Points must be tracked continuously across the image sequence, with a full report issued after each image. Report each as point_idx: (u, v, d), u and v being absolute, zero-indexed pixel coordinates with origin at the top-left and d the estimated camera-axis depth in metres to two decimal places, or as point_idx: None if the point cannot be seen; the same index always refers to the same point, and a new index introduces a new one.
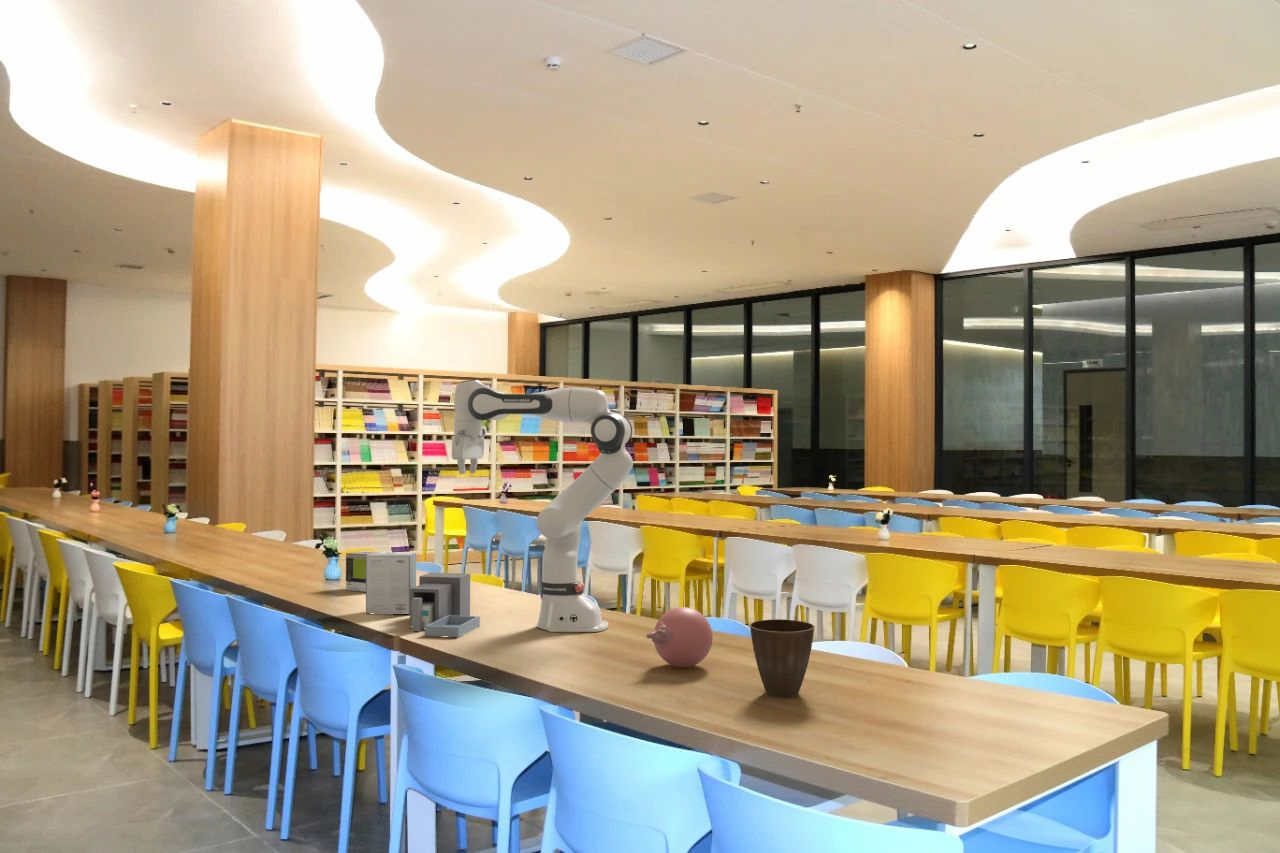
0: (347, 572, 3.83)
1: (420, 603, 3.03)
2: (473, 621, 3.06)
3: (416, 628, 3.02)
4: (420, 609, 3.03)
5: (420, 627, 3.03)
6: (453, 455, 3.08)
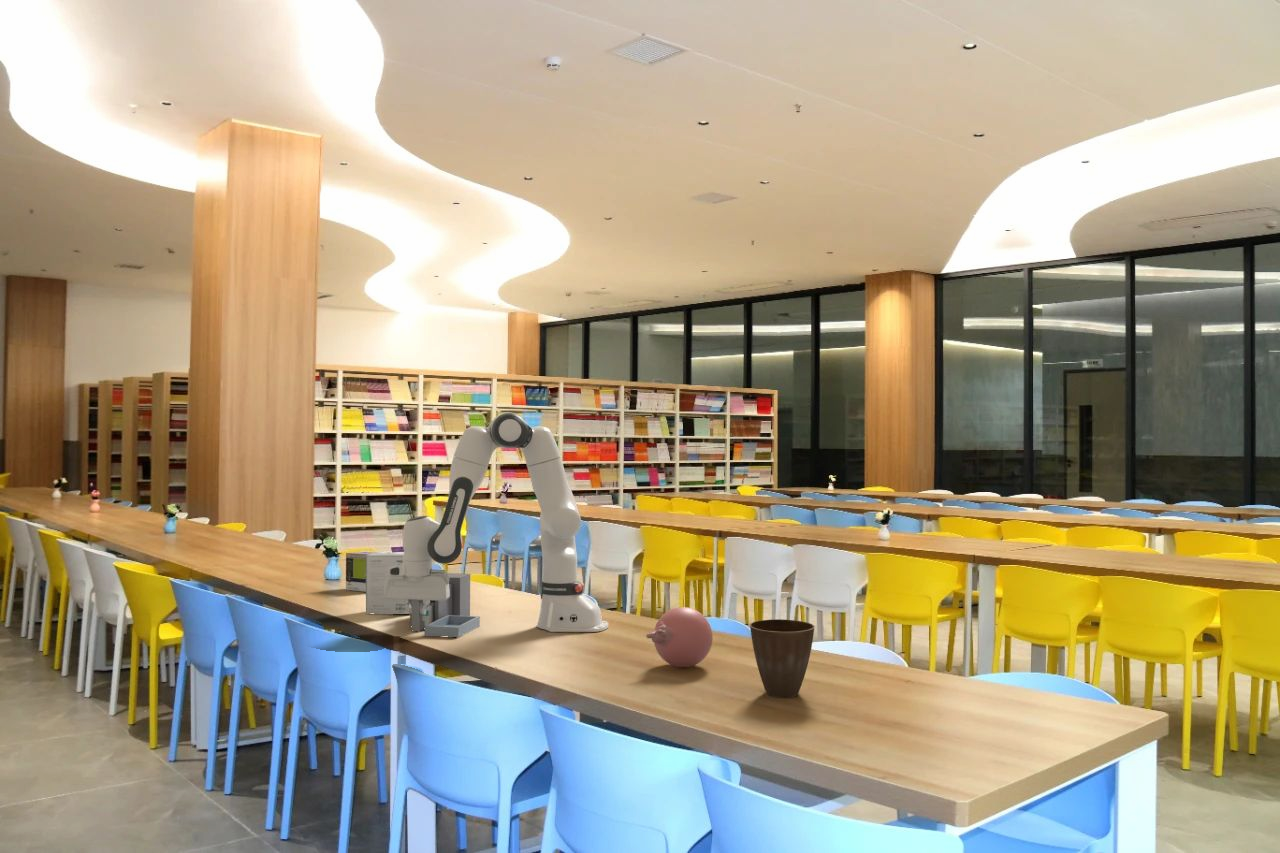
0: (347, 572, 3.83)
1: (420, 603, 3.03)
2: (473, 621, 3.06)
3: (416, 627, 3.02)
4: None
5: (420, 627, 3.03)
6: (446, 596, 3.01)
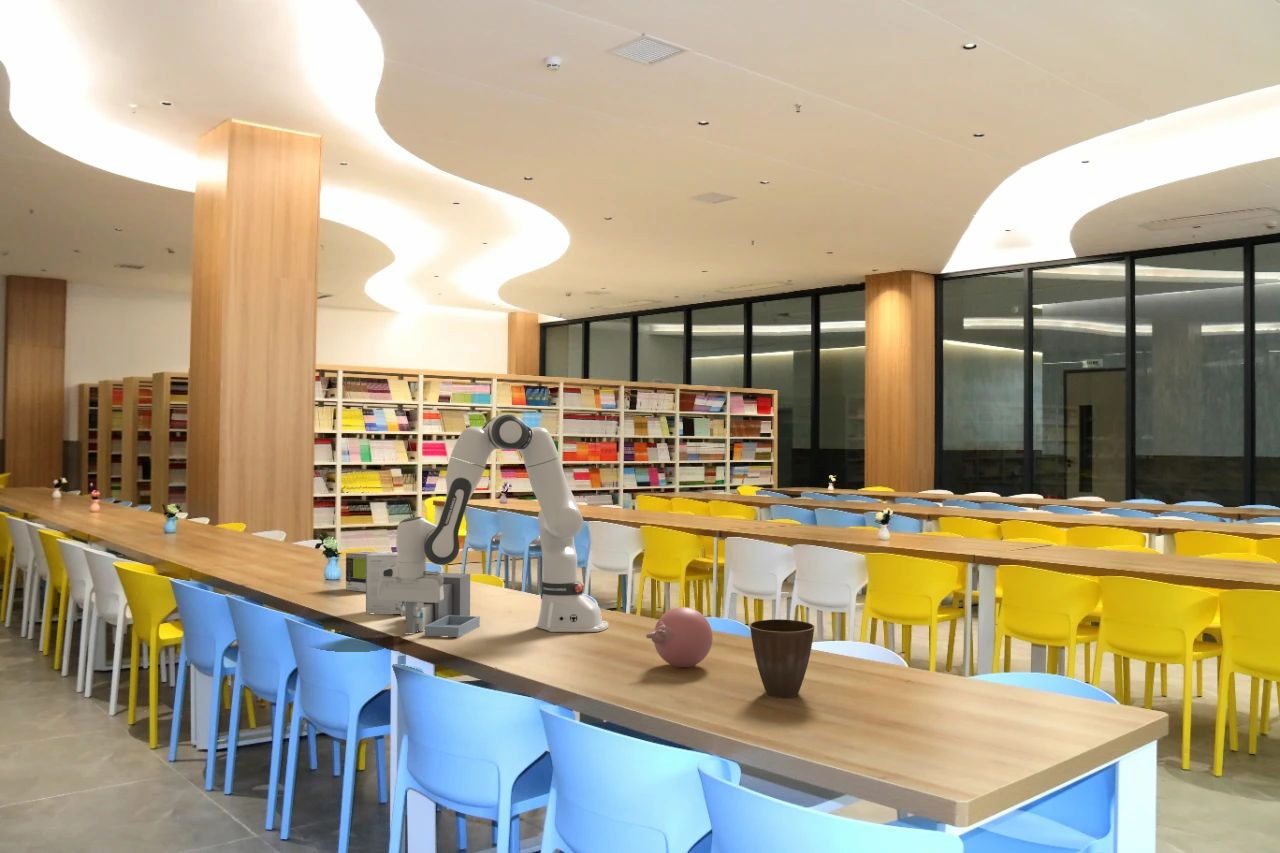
0: (347, 572, 3.83)
1: (414, 605, 2.99)
2: (473, 621, 3.06)
3: (409, 630, 2.98)
4: None
5: (414, 630, 2.99)
6: (440, 598, 2.96)
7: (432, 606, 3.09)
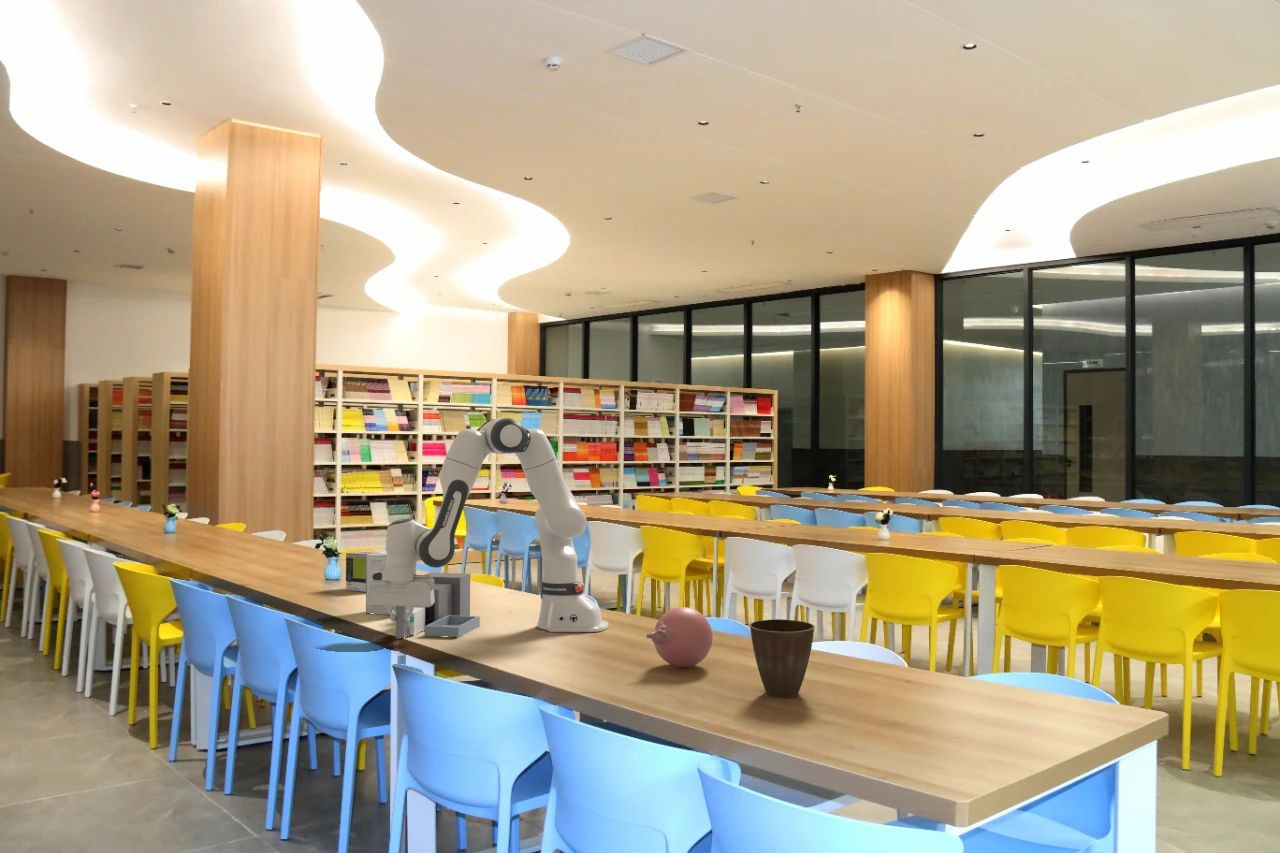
0: (347, 572, 3.83)
1: (405, 609, 2.92)
2: (473, 621, 3.06)
3: (400, 634, 2.92)
4: None
5: (405, 634, 2.93)
6: (431, 602, 2.89)
7: (423, 609, 3.03)
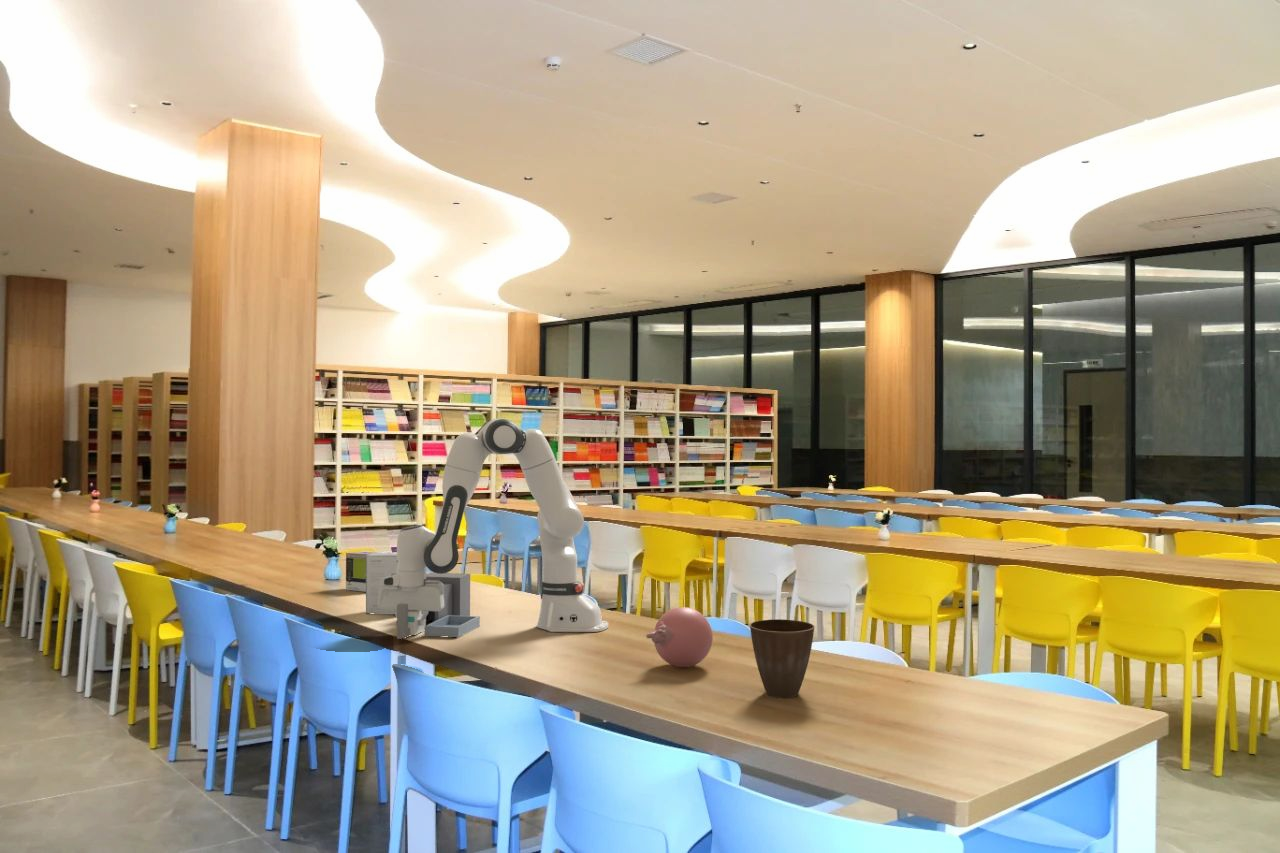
0: (347, 572, 3.83)
1: (406, 609, 2.92)
2: (473, 621, 3.06)
3: (401, 634, 2.91)
4: (406, 615, 2.92)
5: (406, 634, 2.92)
6: (441, 607, 2.97)
7: None
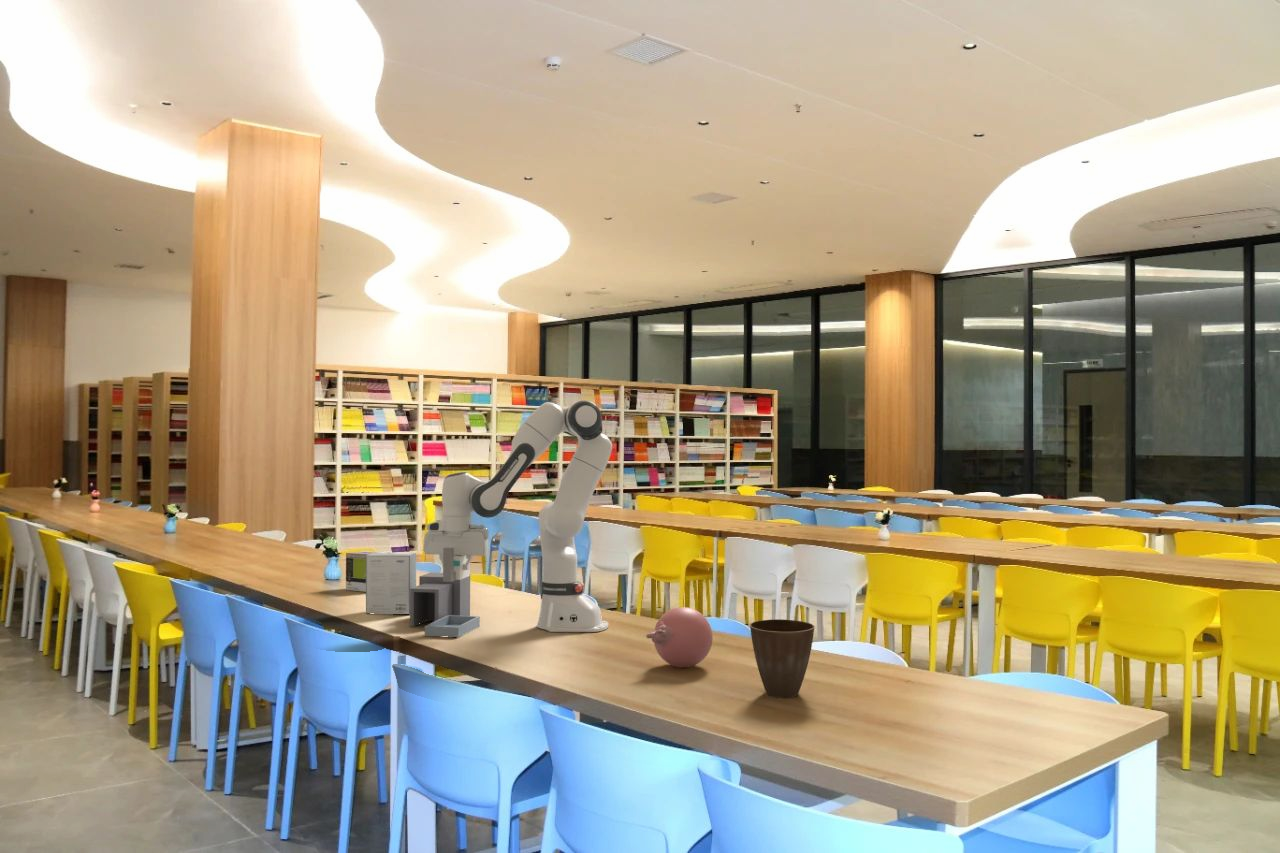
0: (347, 572, 3.83)
1: (452, 553, 2.99)
2: (473, 621, 3.06)
3: (447, 577, 2.98)
4: (452, 559, 2.99)
5: (452, 577, 2.99)
6: (486, 551, 3.03)
7: None
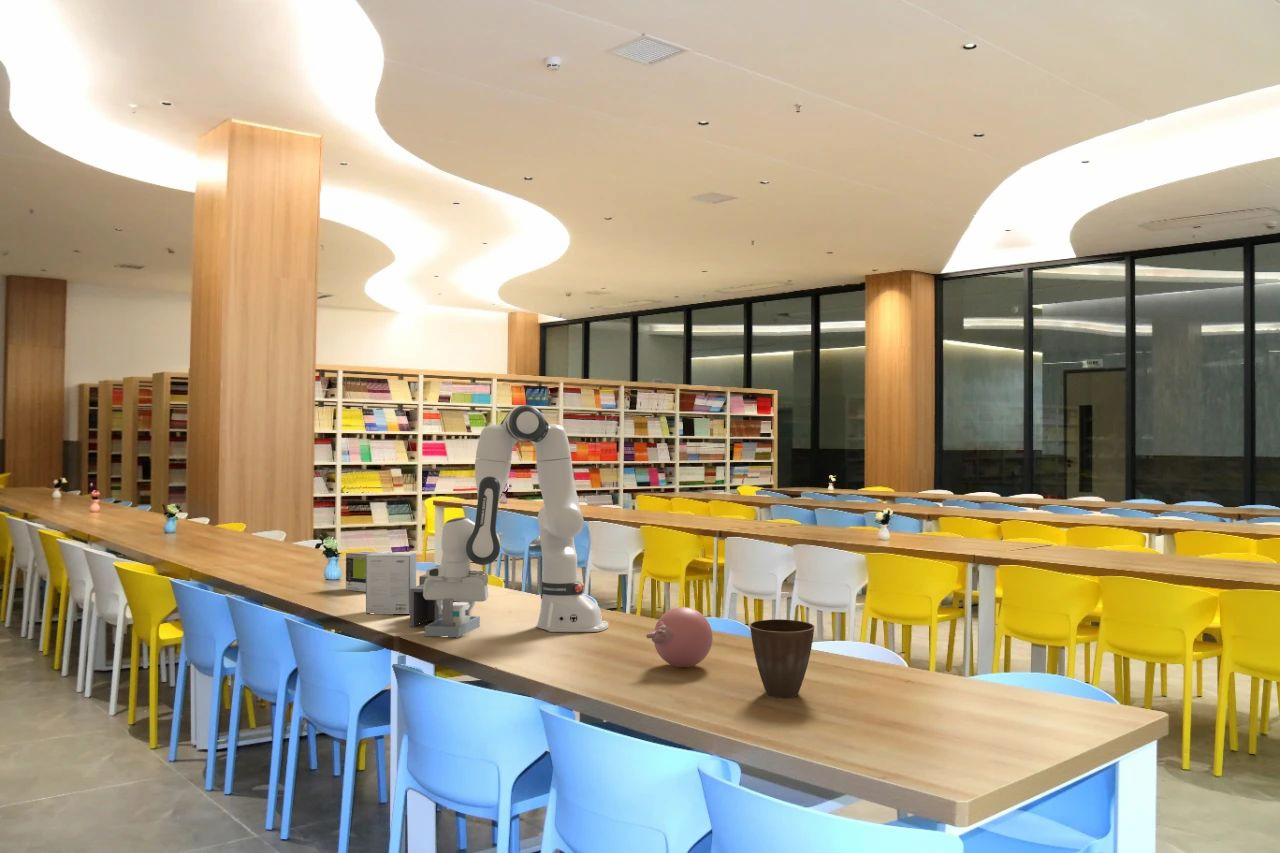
0: (347, 572, 3.83)
1: (451, 604, 2.99)
2: (473, 621, 3.06)
3: None
4: (451, 610, 2.99)
5: None
6: (485, 597, 3.03)
7: (468, 605, 3.09)
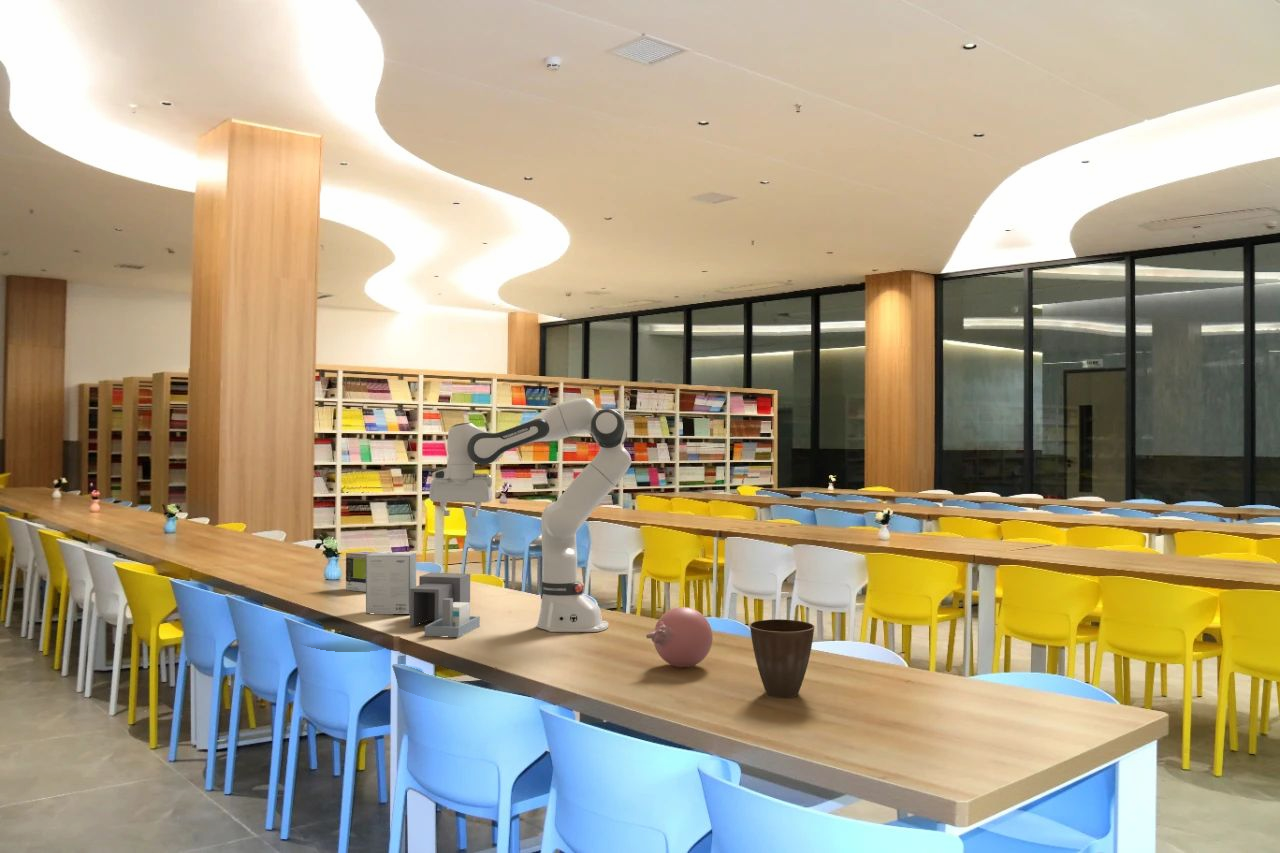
0: (347, 572, 3.83)
1: (451, 604, 2.99)
2: (473, 621, 3.06)
3: None
4: (451, 610, 2.99)
5: None
6: (489, 498, 3.15)
7: (468, 605, 3.09)
